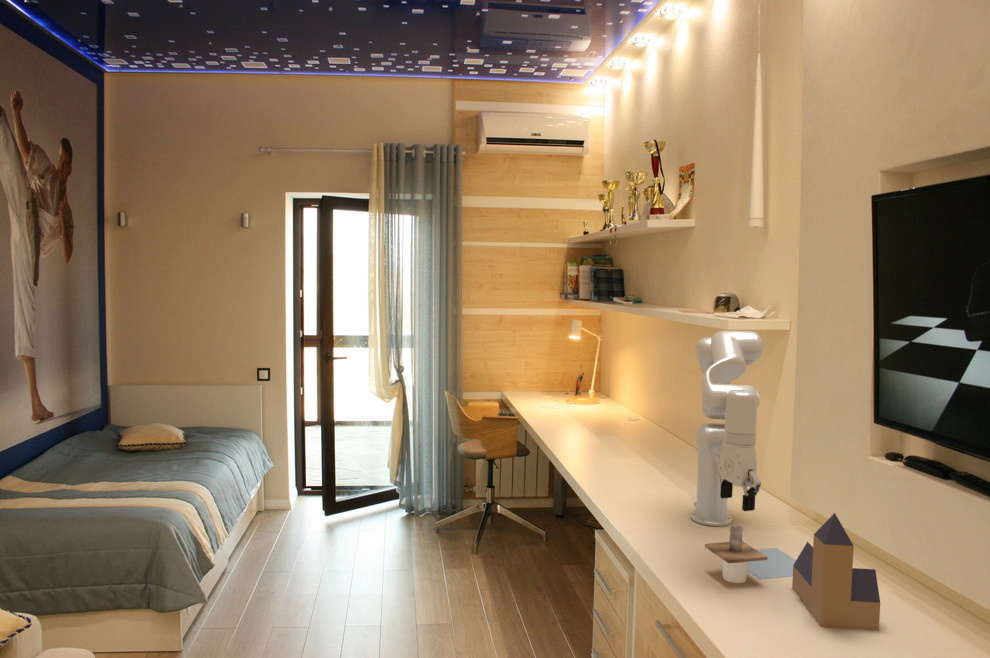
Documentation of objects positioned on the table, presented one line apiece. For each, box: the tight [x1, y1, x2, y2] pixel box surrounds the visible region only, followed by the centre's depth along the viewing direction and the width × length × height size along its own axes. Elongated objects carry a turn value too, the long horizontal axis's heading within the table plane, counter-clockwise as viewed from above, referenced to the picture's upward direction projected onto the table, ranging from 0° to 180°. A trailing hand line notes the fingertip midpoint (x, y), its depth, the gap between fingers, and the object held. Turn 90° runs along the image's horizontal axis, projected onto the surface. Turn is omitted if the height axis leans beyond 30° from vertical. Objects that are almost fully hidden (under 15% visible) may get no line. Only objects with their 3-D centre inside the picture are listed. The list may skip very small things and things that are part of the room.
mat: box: [747, 547, 797, 580], centre depth 187 cm, size 18×18×1 cm
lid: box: [704, 524, 768, 563], centre depth 176 cm, size 11×11×7 cm
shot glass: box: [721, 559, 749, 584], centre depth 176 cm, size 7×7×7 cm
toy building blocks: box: [791, 512, 881, 631], centre depth 161 cm, size 12×19×25 cm, turn 174°
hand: (736, 503), depth 176 cm, fingers open, 9 cm apart
